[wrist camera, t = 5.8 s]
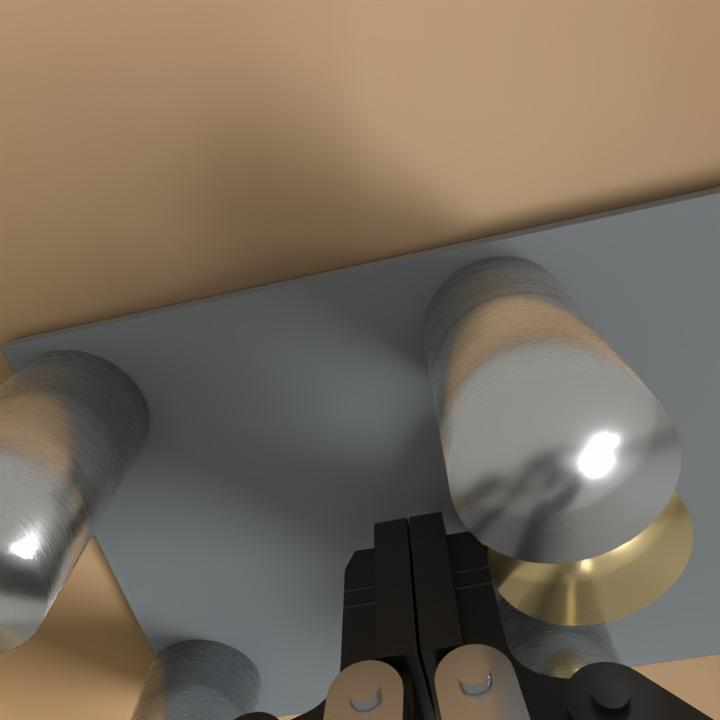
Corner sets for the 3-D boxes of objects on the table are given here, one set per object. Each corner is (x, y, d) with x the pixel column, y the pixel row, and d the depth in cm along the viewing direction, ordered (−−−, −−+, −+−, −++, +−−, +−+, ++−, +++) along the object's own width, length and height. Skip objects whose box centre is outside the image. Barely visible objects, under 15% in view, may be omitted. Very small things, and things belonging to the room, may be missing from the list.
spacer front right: (565, 241, 12) (679, 350, 8) (579, 380, 14) (683, 543, 9) (409, 274, 13) (430, 398, 8) (436, 407, 14) (468, 578, 9)
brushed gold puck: (650, 397, 14) (693, 449, 12) (655, 544, 15) (694, 610, 14) (460, 431, 14) (473, 486, 12) (486, 570, 16) (500, 638, 14)
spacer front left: (119, 336, 13) (-12, 483, 9) (170, 458, 15) (78, 641, 10) (-16, 365, 14) (-208, 521, 9) (45, 481, 15) (-98, 669, 10)
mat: (1359, 47, 11) (1394, 47, 11) (1161, 577, 16) (1179, 588, 16) (9, 340, 14) (0, 348, 13) (195, 715, 19) (191, 729, 18)
